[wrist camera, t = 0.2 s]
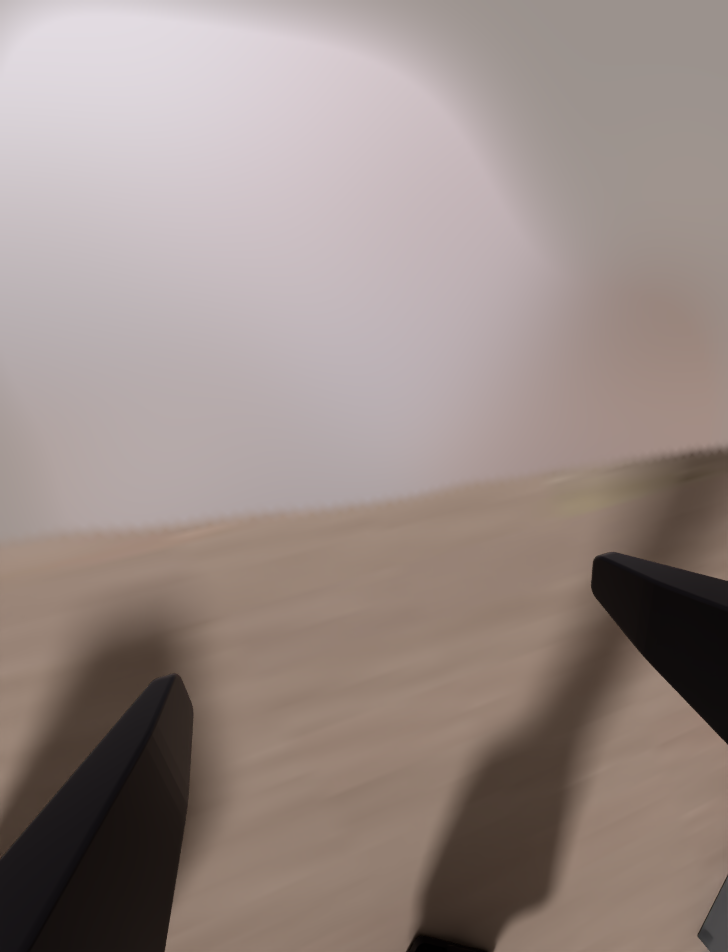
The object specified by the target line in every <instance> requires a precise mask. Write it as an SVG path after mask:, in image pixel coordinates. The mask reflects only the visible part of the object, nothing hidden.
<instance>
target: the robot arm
mask: <svg viewBox="0 0 728 952" xmlns="http://www.w3.org/2000/svg"><path fill="white" fill-rule="evenodd" d="M591 588H592V592H593V594H594V596H595V597H596V599H597V600H598V601H599V603H600V604H601V605H602V606H603V607H604V609H605V610H606V611H607V612H608V614H609V615H610V616H611V617H612V619H613V620H614V621H615V622H616V624H617V625H618V626H619V627H620V628H621V630H622V631H623V632H624V633H625V635H626V636H627V637H628V638H629V640H630V641H631V642H632V643H633V645H634V646H635V647H636V648H637V649H638V651H639V652H640V653H641V654H642V655H643V656H644V657H645V659H646V660H647V661H648V662H649V663H650V664H651V665H652V666H653V667H654V668H655V669H656V670H657V671H658V672H659V673H660V675H661V676H662V677H663V678H664V679H665V680H666V681H667V682H668V683H669V684H670V685H671V686H672V687H673V688H674V689H675V690H676V691H677V692H678V693H679V694H680V695H681V696H682V697H683V698H684V700H685V701H686V702H687V703H688V704H689V705H690V706H691V707H692V708H693V709H694V710H695V711H696V712H697V713H698V714H699V715H700V716H701V717H702V718H703V719H704V720H705V721H706V722H707V723H708V725H709V726H710V727H711V728H712V729H713V730H714V731H715V732H716V733H717V734H718V735H719V736H720V737H721V738H722V739H723V740H724V741H725V742H726V743H727V744H728V581H725V580H721V579H717V578H713V577H710V576H706V575H702V574H698V573H694V572H690V571H686V570H682V569H679V568H675V567H671V566H667V565H663V564H659V563H655V562H651V561H647V560H644V559H640V558H636V557H632V556H628V555H624V554H620V553H616V552H609V553H605V554H602V555H598V556H596V557H595V558H594V560H593V567H592V580H591ZM192 730H193V706H192V703H191V700H190V698H189V695H188V693H187V691H186V688H185V686H184V684H183V681H182V679H181V677H180V676H179V675H178V674H176V673H173V674H170V675H166V676H162V677H159V678H156V679H154V680H153V681H152V682H151V683H150V684H149V685H148V687H147V688H146V689H145V690H144V691H143V692H142V694H141V695H140V696H139V697H138V698H137V699H136V701H135V702H134V703H133V704H132V705H131V707H130V708H129V709H128V710H127V711H126V712H125V714H124V715H123V716H122V717H121V718H120V719H119V721H118V722H117V723H116V724H115V725H114V726H113V728H112V729H111V730H110V731H109V732H108V733H107V735H106V736H105V737H104V738H103V739H102V740H101V742H100V743H99V744H98V745H97V746H96V748H95V749H94V750H93V751H92V752H91V753H90V755H89V756H88V757H87V758H86V759H85V760H84V762H83V763H82V764H81V765H80V766H79V767H78V769H77V770H76V771H75V772H74V773H73V774H72V776H71V777H70V778H69V779H68V780H67V782H66V783H65V784H64V785H63V786H62V787H61V789H60V790H59V791H58V792H57V793H56V794H55V796H54V797H53V798H52V799H51V800H50V801H49V803H48V804H47V805H46V806H45V807H44V808H43V810H42V811H41V812H40V813H39V814H38V815H37V817H36V818H35V819H34V820H33V821H32V823H31V824H30V825H29V826H28V827H27V828H26V830H25V831H24V832H23V833H22V834H21V835H20V837H19V838H18V839H17V840H16V841H15V842H14V844H13V845H12V846H11V847H10V848H9V849H8V851H7V852H6V853H5V854H4V855H3V856H2V858H1V859H0V952H165V946H166V940H167V934H168V927H169V921H170V915H171V909H172V902H173V896H174V890H175V884H176V878H177V871H178V865H179V859H180V853H181V846H182V840H183V834H184V828H185V821H186V814H187V807H188V795H189V780H190V764H191V747H192ZM409 952H486V951H482V950H478V949H474V948H470V947H466V946H462V945H459V944H455V943H451V942H447V941H443V940H439V939H435V938H431V937H427V936H419V937H418V938H416V940H415V941H414V943H413V945H412V947H411V949H410V951H409Z"/></svg>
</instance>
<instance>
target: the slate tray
mask: <svg viewBox="0 0 728 952" xmlns="http://www.w3.org/2000/svg"><path fill="white" fill-rule="evenodd" d="M698 937H699V939H700V940H701V941H702V942H703V944H704V945H705V946H706V947H707V948H708V950H709V951H710V952H728V877H727V879H726V881H725V883H724V885H723V887H722V889H721V891H720V893H719V895H718V897H717V899H716V901H715V903H714V905H713V907H712V909H711V911H710V913H709V915H708V917H707V919H706V921H705V923H704V925H703V927H702V929H701V931H700V933H699V935H698Z"/></svg>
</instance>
